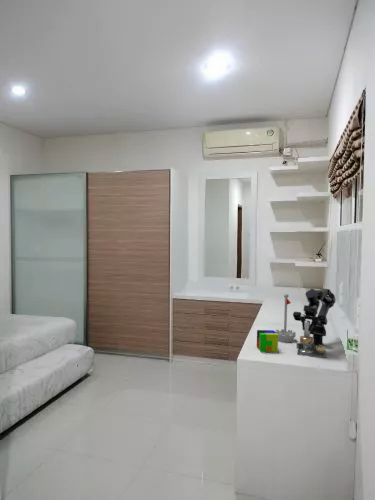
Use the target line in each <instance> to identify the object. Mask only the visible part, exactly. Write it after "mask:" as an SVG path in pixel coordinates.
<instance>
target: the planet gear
mask: <svg viewBox="0 0 375 500" xmlns="http://www.w3.org/2000/svg"><path fill="white" fill-rule="evenodd" d="M310 324H311V320H306V321H304V330H303V335H300V336H299V341H300V342H299V343H306V344H313V343H314V339H313V336H311V334H310V331H309V328H310Z"/></svg>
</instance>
